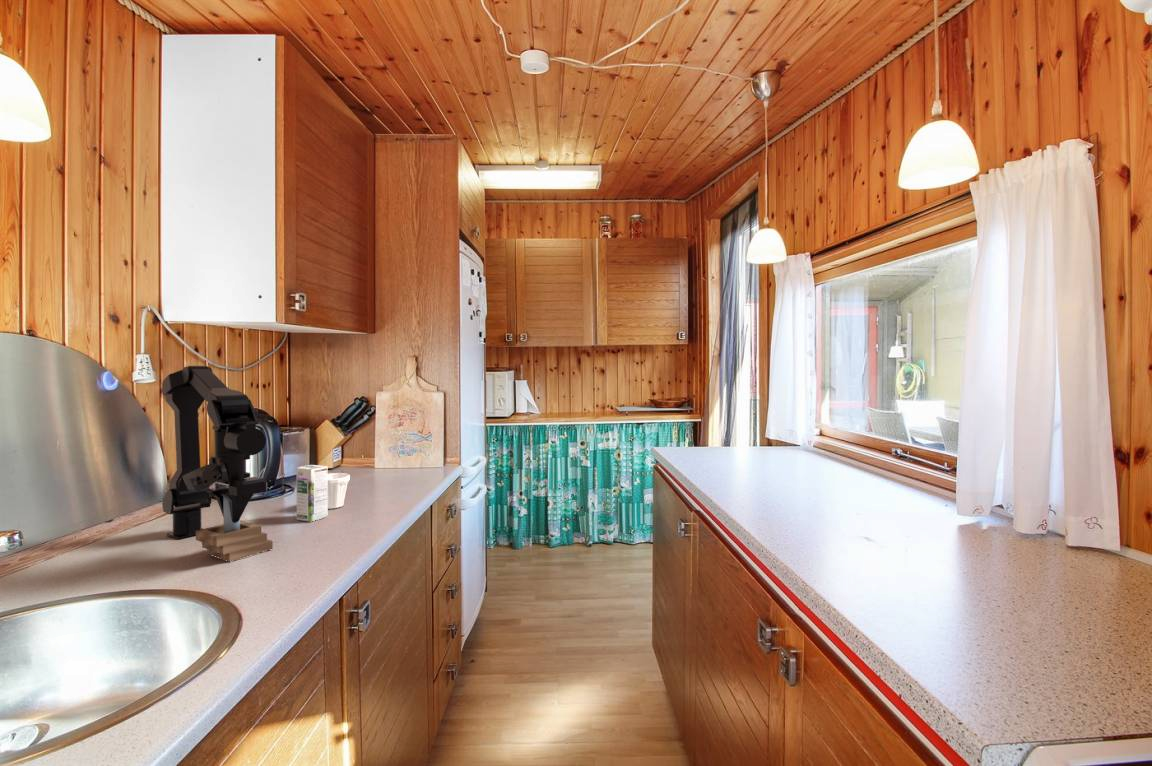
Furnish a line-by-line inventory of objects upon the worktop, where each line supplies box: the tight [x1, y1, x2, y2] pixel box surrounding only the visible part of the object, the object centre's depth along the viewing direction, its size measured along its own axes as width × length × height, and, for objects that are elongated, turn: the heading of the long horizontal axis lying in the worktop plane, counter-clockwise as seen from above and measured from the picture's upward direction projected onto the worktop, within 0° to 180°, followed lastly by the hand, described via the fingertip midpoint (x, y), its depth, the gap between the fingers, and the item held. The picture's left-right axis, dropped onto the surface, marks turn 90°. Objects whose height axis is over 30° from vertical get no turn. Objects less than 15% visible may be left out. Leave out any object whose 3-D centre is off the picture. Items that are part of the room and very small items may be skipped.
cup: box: [328, 472, 351, 510], centre depth 153 cm, size 10×10×9 cm
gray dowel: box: [223, 496, 241, 534], centre depth 113 cm, size 3×3×10 cm
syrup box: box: [296, 464, 329, 523], centre depth 141 cm, size 6×6×14 cm
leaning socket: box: [195, 519, 274, 562], centre depth 114 cm, size 9×11×6 cm
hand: (231, 521), depth 113 cm, fingers closed on gray dowel, 3 cm apart
